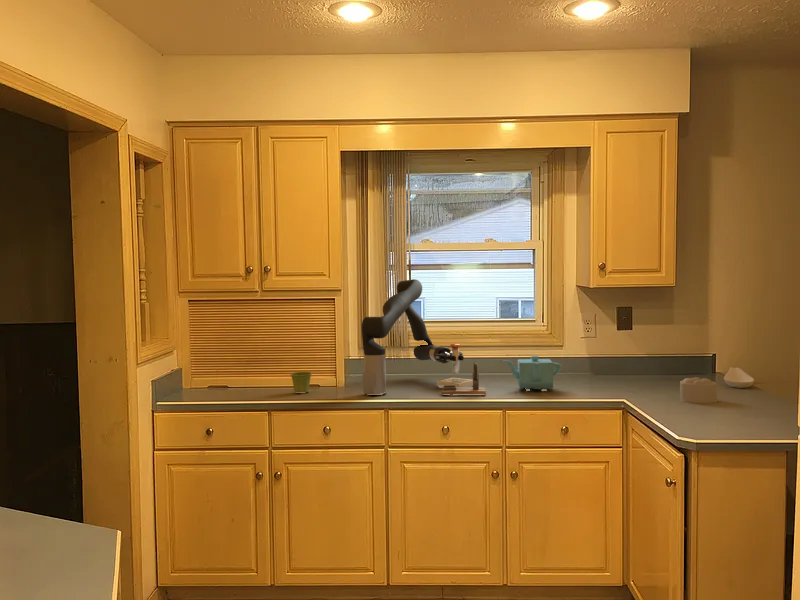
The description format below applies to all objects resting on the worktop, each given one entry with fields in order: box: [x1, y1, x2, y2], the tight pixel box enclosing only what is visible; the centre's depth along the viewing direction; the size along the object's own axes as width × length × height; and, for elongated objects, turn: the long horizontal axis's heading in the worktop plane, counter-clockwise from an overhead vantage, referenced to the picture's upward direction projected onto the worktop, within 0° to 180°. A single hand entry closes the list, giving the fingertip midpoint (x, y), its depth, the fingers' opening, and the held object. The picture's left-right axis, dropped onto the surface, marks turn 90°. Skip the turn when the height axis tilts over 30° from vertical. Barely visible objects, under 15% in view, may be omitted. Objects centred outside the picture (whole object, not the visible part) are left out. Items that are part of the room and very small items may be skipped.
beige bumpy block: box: [679, 376, 718, 404], centre depth 277 cm, size 10×13×9 cm
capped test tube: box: [450, 343, 461, 375], centre depth 321 cm, size 4×4×13 cm
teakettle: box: [503, 355, 563, 390], centre depth 309 cm, size 19×19×15 cm
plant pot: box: [290, 371, 313, 393], centre depth 314 cm, size 9×9×9 cm
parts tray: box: [436, 377, 473, 387], centre depth 321 cm, size 12×12×3 cm
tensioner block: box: [441, 361, 487, 395], centre depth 303 cm, size 10×18×13 cm, turn 85°
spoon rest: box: [723, 367, 755, 389], centre depth 312 cm, size 24×12×7 cm, turn 165°
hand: (458, 358), depth 318 cm, fingers closed on capped test tube, 3 cm apart
